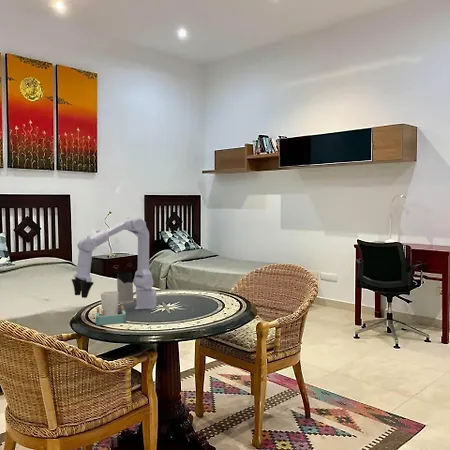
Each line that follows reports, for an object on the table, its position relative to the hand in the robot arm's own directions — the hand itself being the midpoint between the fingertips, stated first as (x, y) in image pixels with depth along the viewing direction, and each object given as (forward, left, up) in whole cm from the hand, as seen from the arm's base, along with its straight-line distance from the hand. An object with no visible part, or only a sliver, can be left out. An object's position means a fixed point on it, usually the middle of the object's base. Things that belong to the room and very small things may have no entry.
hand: (80, 296), depth 196 cm
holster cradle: (-10, -9, -11) cm, 17 cm away
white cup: (-10, -9, -11) cm, 17 cm away
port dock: (-14, +4, -11) cm, 18 cm away
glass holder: (-14, -36, -11) cm, 40 cm away
